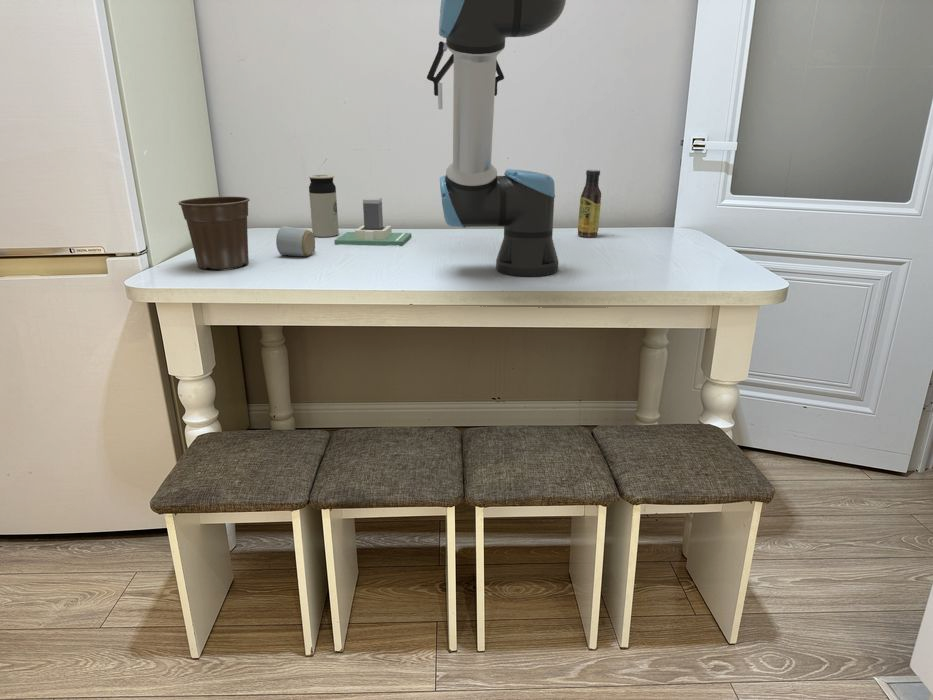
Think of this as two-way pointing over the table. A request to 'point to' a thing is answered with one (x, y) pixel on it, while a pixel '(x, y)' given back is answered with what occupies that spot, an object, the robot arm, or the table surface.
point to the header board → (374, 237)
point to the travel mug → (323, 206)
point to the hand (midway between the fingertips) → (465, 109)
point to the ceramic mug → (295, 241)
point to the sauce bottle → (590, 205)
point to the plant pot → (218, 230)
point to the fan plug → (373, 214)
